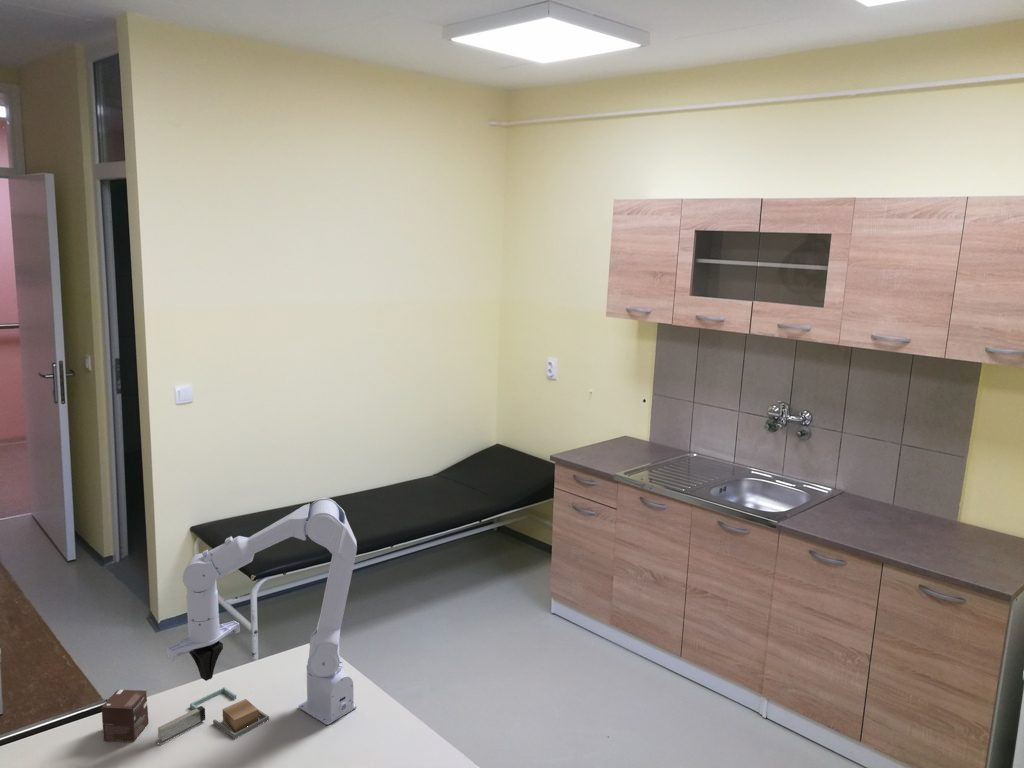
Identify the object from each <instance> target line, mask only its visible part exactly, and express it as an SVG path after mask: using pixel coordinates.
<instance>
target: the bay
mask: <svg viewBox="0 0 1024 768" xmlns="http://www.w3.org/2000/svg"><path fill="white" fill-rule="evenodd" d="M223 693H224V694H226V696H229V697H230V698H232V699H233V700H236V699H237V694H236V693H234V692H233V691H231V690H230V689H228V688H226V687H221V688H219V689H218V690H215V691H214V692H211V693H210V694H207V695H205V696H203V697H202V698H200V699H199V698H198V699H197V700H195V701H193V702H191V703H190V704H189V707H190V708H191V709H192V710H194V709H197V708H198V707H199V706H198V705H200V704H203V703H205V702H206V701H209V700H211V699H214V698H215V697H217V696H218V695H221V694H223Z"/></svg>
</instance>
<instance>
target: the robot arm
mask: <svg viewBox="0 0 1024 768" xmlns="http://www.w3.org/2000/svg"><path fill="white" fill-rule="evenodd" d="M307 537H308V538H309V539H310V540H311V541H312V542H314V543H316V544H317V545H320V546H321V547H324V548H326V549H327V551H329V553H330V554H331V555H332V556H331V560H330V565H329V570H328V575H327V580H326V585H325V589H324V595H323V598H322V599H323V600H322V605H321V609H320V615H319V619H318V620H317V626H316V628H315V630H314V631H313V632H312V634H311V635H310V637H309V641H308V643H309V650H308V651H309V652H308V659H307V664H306V699H307V700H305V701H303V702H301V703H300V704H298V709H300V710H301V711H303V712H305V713H306V714H308V715H310V716H311V717H314V718H315V719H316V720H318V721H320V722H321V723H323V724H324V725H330V724H332V723H334V722H335V721H337V720H338V719H340V718H341V717H343V716H345V715H347V714H348V713H350V712H351V711H353V710H355V709H356V708H357V706H358V705H357V704H356V703H355V702H354V681H353V679H352V678H351V676H349V675H348V674H347V672H346V671H345V670H344V666H343V661H342V659H341V658H340V643H341V637H340V636H341V629H342V623H343V618H344V613H345V609H346V603H347V599H348V593H349V591H350V590H349V589H350V585H351V581H352V577H353V576H352V575H353V570H354V566H355V560H356V556H357V551H358V545H357V543H358V542H357V538H356V537H355V535H354V532H353V530H352V528H351V526H350V523H349V521H348V519H347V516H346V512H345V511H344V509H343V508H342V507H341V506H340V505H339V504H338V503H337V502H336V501H335V500H333V499H331V498H328V497H322V498H318V499H316V500H314V501H313V502H312V503H311V504H310V503H308V504H305V505H302V506H301V507H299V508H297V509H296V510H294V511H292V512H291V513H289V514H287V515H285V516H284V517H283V518H280V519H279V520H277V521H275V522H273V523H271V524H270V525H269V526H267V527H265V528H263V529H262V530H260V531H257V532H256V533H253V534H252V535H251V536H249V537H247V536H241V535H237V536H236V537H234V538H233V536H229V537H227V538H226V539H225V540H224V543H221V544H220V545H218V546H216V547H214V548H212V549H210V550H209V549H206V550H204V551H202V552H200V553H197V554H195V555H194V556H192V557H191V558H190V560H189V561H188V563H187V565H186V567H185V568H184V570H183V574H182V583H183V586H185V589H186V611H187V615H186V616H187V631H188V635H186V636H185V637H184V638H182V639H181V640H179V641H177V642H176V643H174V644H173V645H171V646H170V647H167V648H166V657H167V659H169V660H170V661H172V662H173V661H176V660H177V659H178V658H179V657H181V656H183V655H185V654H187V653H189V655H190V656H191V657H192V660H194V663H195V665H196V667H197V670H198V672H199V676H200V679H203V680H204V681H205V682H207V681H209V680H211V679H213V675H214V672H215V667H216V664H217V661H218V658H219V657H220V655H221V652H222V650H223V649H224V643H223V642H221V641H220V640H221V639H223V638H225V637H227V636H229V635H232V634H238V633H240V632H241V629H240V628H241V627H240V623H239V622H237V621H236V620H232V621H229V622H224V623H221V624H220V613H219V592H218V591H219V590H218V587H217V584H218V583H217V579H219V578H220V579H221V578H223V577H225V576H227V575H229V574H231V573H232V572H234V571H237V570H238V569H240V568H242V567H244V566H246V565H248V564H250V563H252V562H253V560H254V557H255V554H256V553H258V552H259V553H260V552H261V551H263V550H265V549H267V548H269V547H271V546H274V545H276V544H278V543H280V542H282V541H284V540H287V539H290V538H295V539H298V540H302V541H307Z"/></svg>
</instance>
